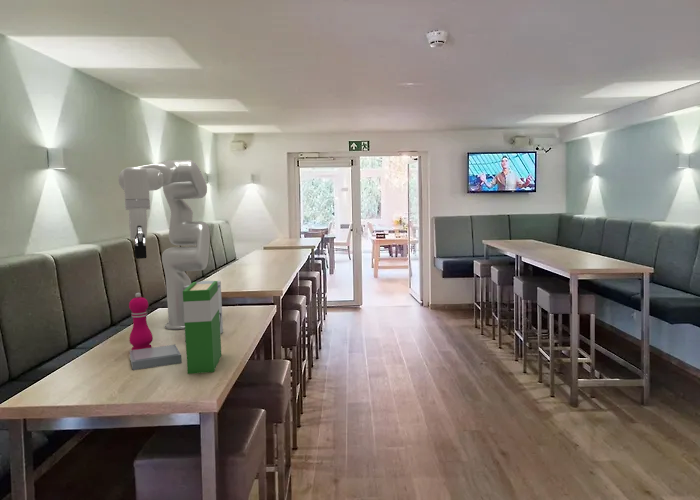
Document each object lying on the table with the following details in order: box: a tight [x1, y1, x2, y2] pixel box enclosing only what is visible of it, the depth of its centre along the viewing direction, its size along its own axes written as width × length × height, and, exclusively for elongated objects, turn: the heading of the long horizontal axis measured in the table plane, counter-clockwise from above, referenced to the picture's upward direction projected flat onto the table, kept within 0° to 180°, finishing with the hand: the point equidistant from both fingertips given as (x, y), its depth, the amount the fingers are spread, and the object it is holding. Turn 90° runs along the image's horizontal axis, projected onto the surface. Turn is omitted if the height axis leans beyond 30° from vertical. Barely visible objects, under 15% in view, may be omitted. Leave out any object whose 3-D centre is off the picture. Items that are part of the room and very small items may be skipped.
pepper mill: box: [128, 292, 154, 350], centre depth 180 cm, size 7×7×20 cm
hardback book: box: [183, 280, 222, 375], centre depth 165 cm, size 18×7×24 cm, turn 6°
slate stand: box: [129, 344, 183, 371], centre depth 171 cm, size 14×14×3 cm
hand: (140, 257), depth 179 cm, fingers open, 9 cm apart
